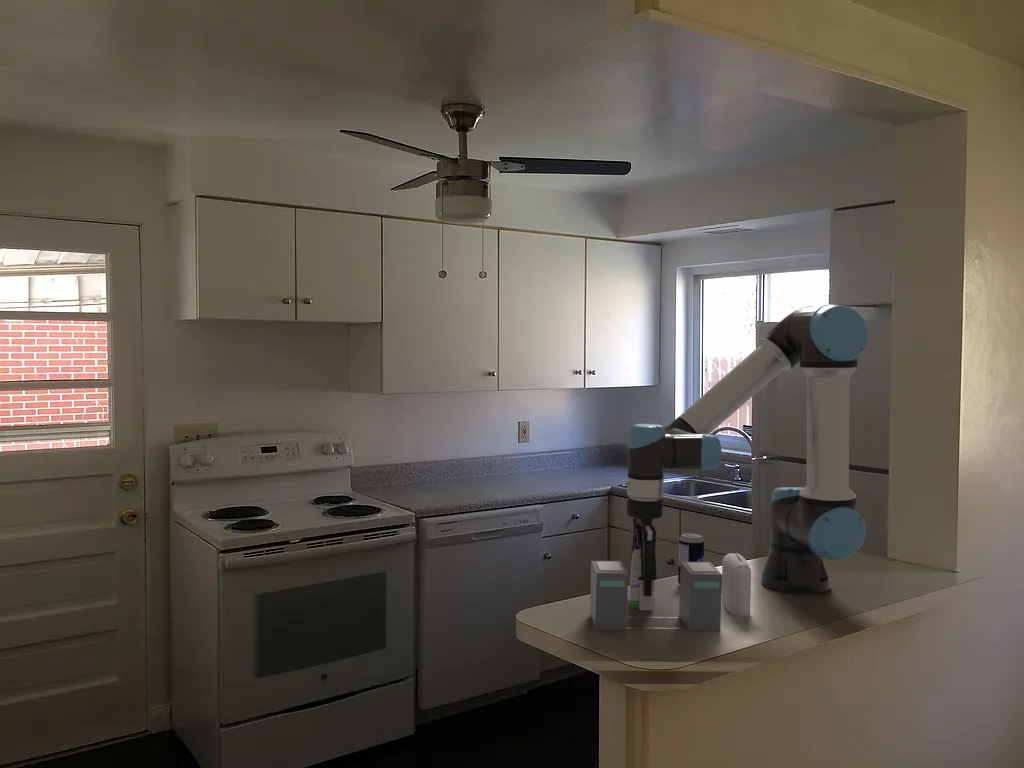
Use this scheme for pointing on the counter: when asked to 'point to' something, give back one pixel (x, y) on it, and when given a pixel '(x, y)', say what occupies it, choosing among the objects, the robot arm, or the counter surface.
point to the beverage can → (690, 549)
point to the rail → (652, 628)
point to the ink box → (635, 580)
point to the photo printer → (736, 584)
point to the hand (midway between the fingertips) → (642, 603)
